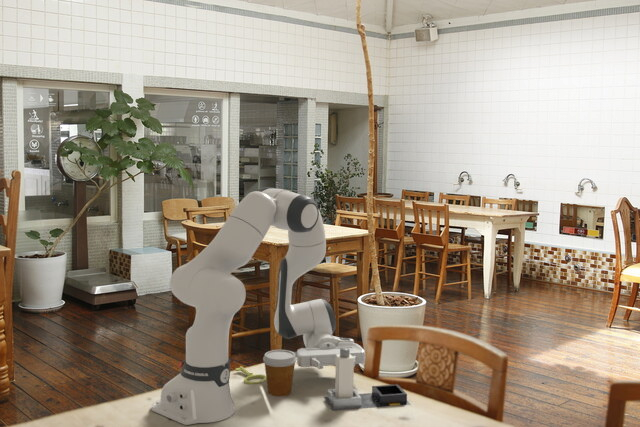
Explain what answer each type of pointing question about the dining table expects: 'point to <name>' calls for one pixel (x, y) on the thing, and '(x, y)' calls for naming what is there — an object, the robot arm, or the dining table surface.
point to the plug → (344, 374)
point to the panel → (369, 398)
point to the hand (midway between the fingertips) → (337, 365)
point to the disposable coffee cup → (279, 371)
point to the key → (251, 376)
